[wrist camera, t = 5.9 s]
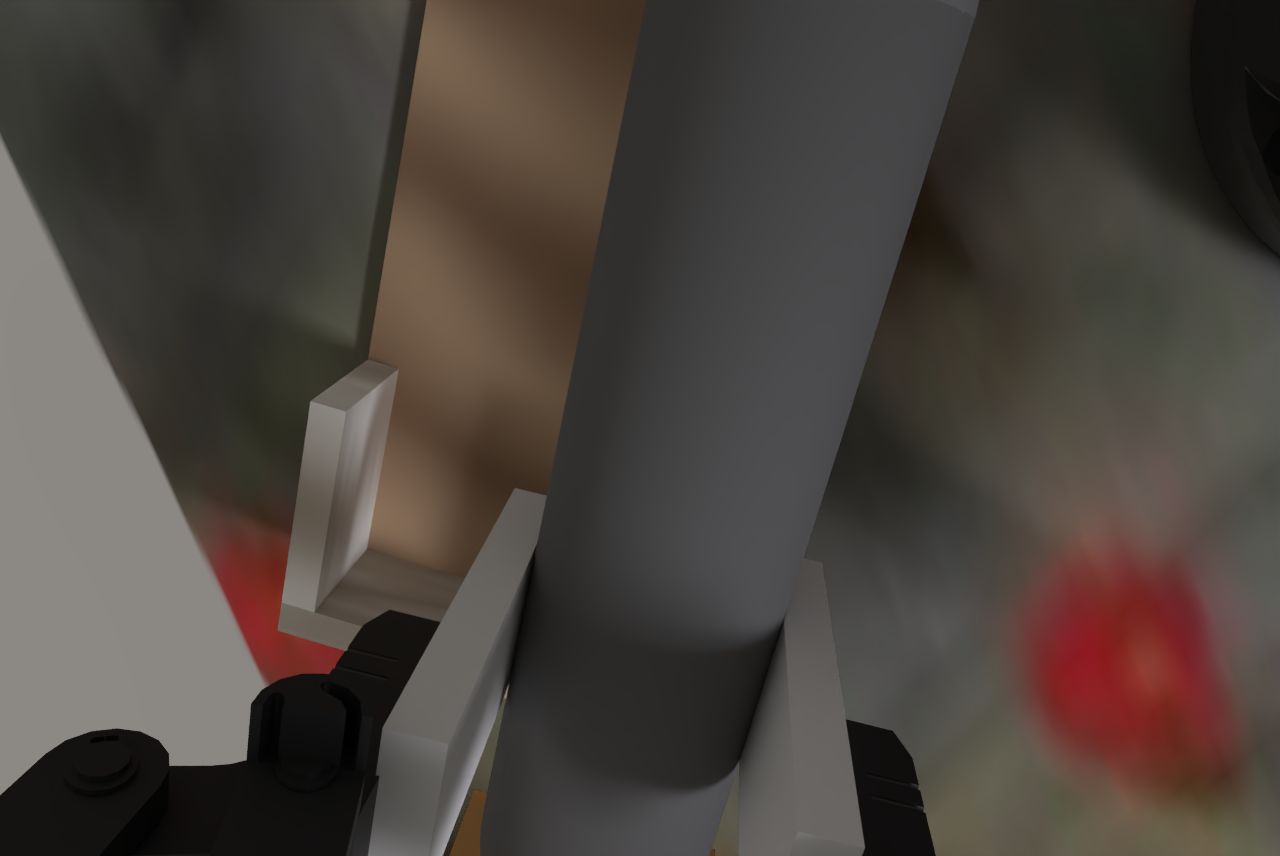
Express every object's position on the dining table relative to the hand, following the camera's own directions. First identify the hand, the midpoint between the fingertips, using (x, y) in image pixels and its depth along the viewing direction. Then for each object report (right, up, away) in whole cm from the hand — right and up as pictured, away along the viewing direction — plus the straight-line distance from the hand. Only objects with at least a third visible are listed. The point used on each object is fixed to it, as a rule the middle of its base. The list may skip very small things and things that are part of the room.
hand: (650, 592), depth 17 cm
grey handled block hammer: (0, +1, 0) cm, 1 cm away
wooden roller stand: (-3, +9, +11) cm, 14 cm away
